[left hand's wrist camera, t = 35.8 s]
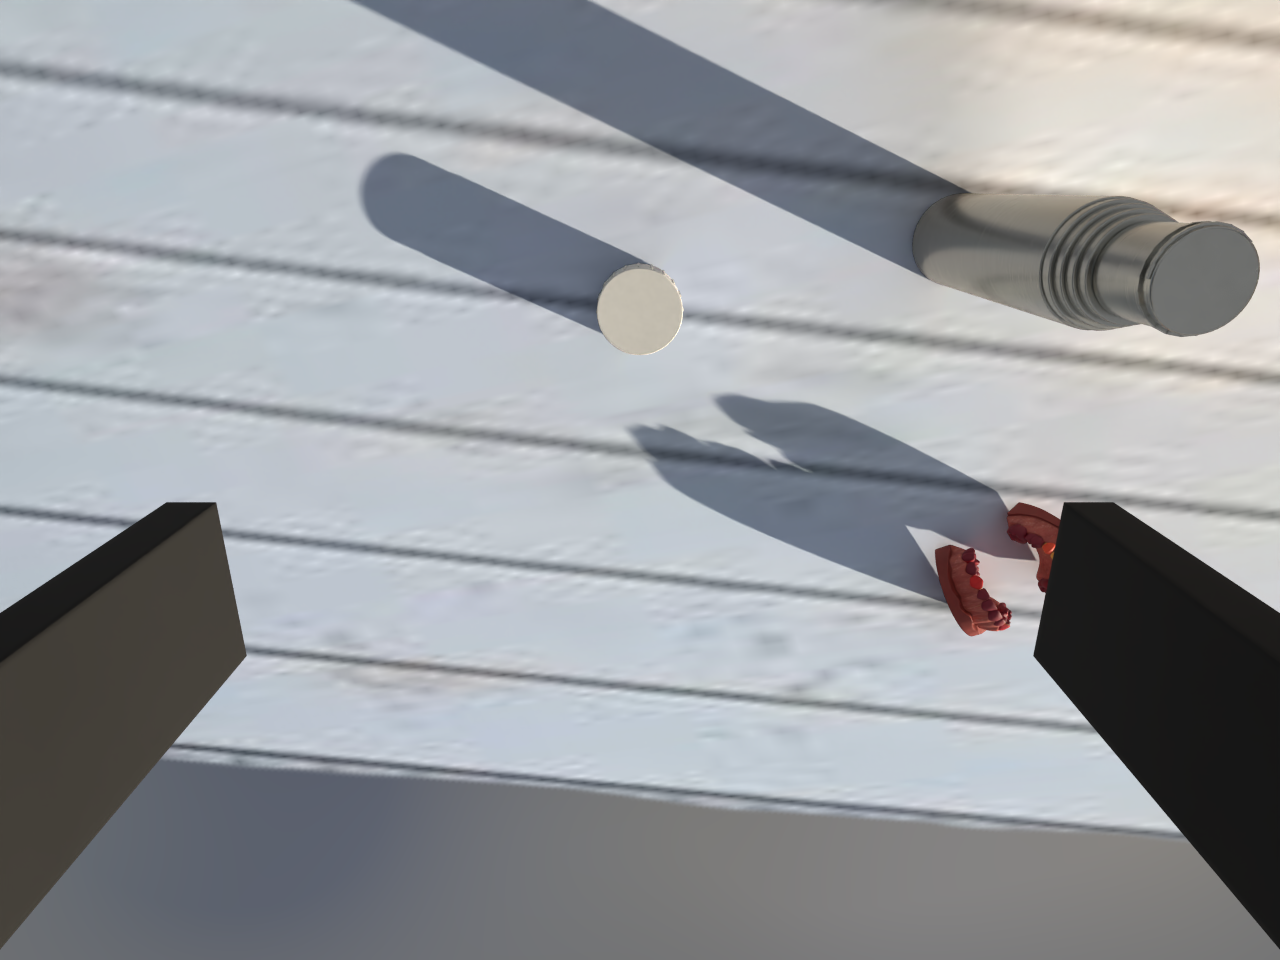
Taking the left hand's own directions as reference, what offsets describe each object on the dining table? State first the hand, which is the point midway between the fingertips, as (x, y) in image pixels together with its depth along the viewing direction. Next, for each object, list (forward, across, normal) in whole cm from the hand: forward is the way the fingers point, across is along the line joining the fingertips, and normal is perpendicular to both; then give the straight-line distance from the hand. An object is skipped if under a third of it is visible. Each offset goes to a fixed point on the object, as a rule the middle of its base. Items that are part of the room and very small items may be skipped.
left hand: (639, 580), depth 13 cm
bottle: (+32, +16, +3) cm, 36 cm away
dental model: (+32, +21, -15) cm, 41 cm away
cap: (+29, 0, 0) cm, 29 cm away
